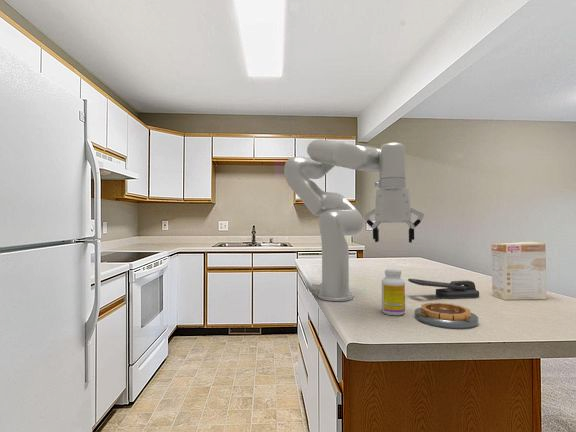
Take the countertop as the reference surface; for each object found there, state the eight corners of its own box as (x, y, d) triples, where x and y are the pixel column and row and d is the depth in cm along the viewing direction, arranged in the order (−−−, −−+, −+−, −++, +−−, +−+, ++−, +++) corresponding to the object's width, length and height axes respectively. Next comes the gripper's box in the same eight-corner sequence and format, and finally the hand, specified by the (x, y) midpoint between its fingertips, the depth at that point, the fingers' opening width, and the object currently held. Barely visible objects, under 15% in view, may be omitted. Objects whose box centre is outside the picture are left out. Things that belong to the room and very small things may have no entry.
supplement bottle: (408, 316, 94) (408, 271, 94) (385, 316, 94) (385, 272, 94) (400, 309, 101) (400, 268, 101) (379, 309, 101) (378, 268, 101)
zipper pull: (405, 277, 119) (464, 275, 124) (405, 296, 119) (465, 292, 124) (420, 282, 110) (483, 279, 115) (420, 302, 110) (483, 298, 115)
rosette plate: (413, 324, 87) (413, 313, 87) (415, 308, 101) (415, 299, 101) (482, 332, 80) (482, 320, 80) (474, 314, 95) (474, 304, 95)
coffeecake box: (531, 295, 119) (530, 241, 119) (547, 299, 112) (546, 243, 112) (491, 295, 118) (490, 242, 119) (504, 300, 111) (503, 243, 111)
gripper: (361, 185, 98) (361, 242, 97) (423, 182, 91) (424, 243, 91) (365, 187, 105) (366, 240, 104) (423, 184, 98) (424, 241, 97)
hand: (393, 242), depth 97 cm, fingers open, 9 cm apart
